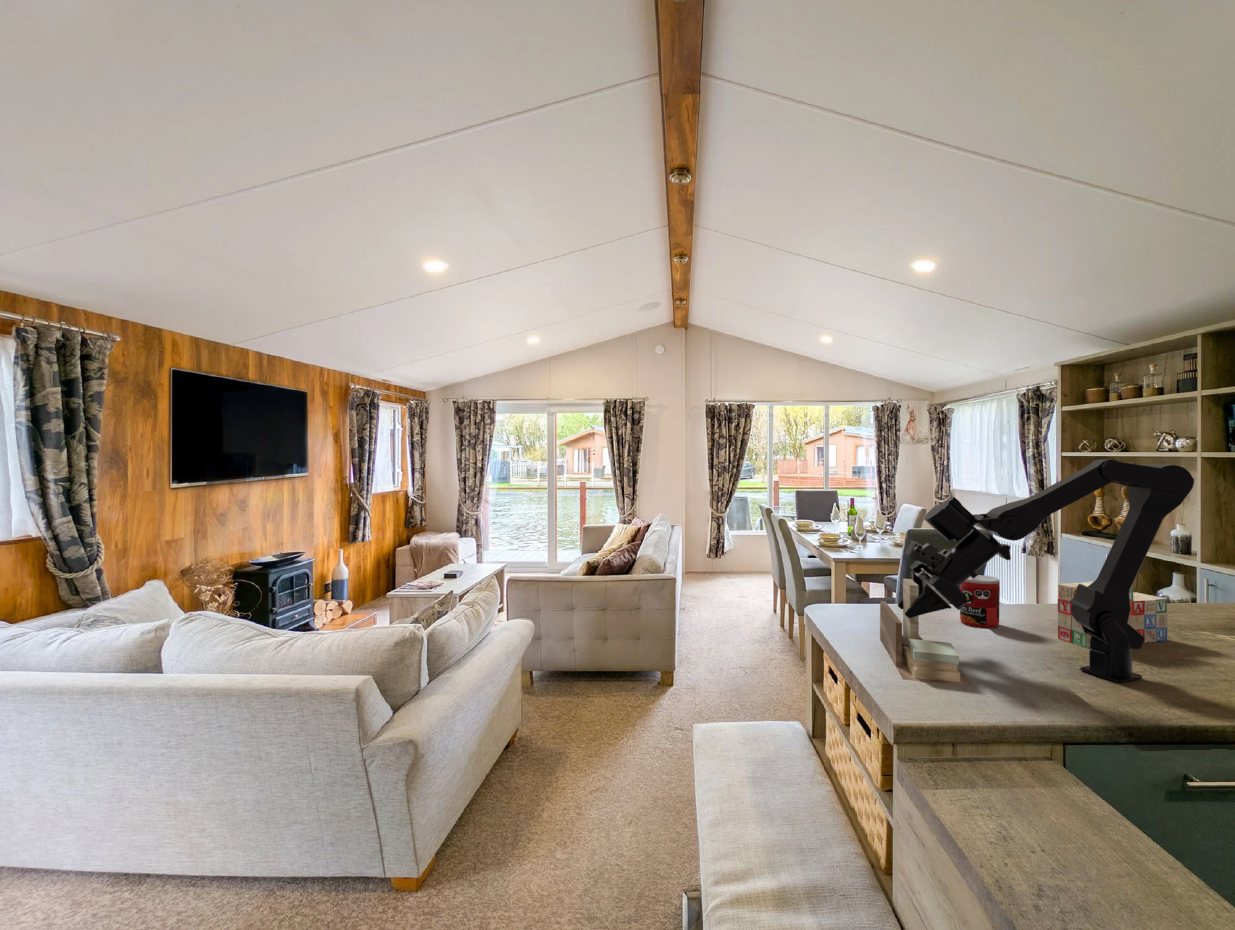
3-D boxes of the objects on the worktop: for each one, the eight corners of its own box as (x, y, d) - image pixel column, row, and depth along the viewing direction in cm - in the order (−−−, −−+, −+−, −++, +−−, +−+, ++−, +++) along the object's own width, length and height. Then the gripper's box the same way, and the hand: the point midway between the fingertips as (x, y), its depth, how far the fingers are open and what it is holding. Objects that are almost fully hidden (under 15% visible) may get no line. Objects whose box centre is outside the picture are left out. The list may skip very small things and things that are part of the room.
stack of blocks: (1136, 633, 128) (1136, 578, 128) (1168, 642, 122) (1168, 584, 122) (1057, 639, 124) (1057, 582, 124) (1085, 648, 118) (1086, 589, 118)
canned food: (952, 621, 137) (952, 575, 137) (977, 618, 140) (977, 573, 140) (981, 630, 130) (981, 582, 130) (1007, 627, 132) (1007, 579, 132)
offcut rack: (935, 650, 116) (936, 604, 116) (971, 694, 95) (972, 637, 95) (880, 646, 119) (880, 601, 119) (902, 687, 98) (903, 632, 98)
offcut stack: (948, 665, 104) (948, 640, 104) (963, 682, 96) (963, 656, 96) (901, 661, 106) (901, 637, 106) (912, 678, 98) (912, 652, 98)
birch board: (911, 643, 115) (911, 579, 115) (918, 653, 109) (918, 585, 109) (903, 642, 115) (903, 578, 115) (909, 652, 109) (909, 585, 109)
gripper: (921, 522, 120) (864, 572, 123) (946, 534, 102) (879, 592, 105) (963, 561, 118) (904, 610, 121) (997, 580, 100) (927, 638, 103)
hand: (902, 611), depth 112 cm, fingers closed on birch board, 6 cm apart
